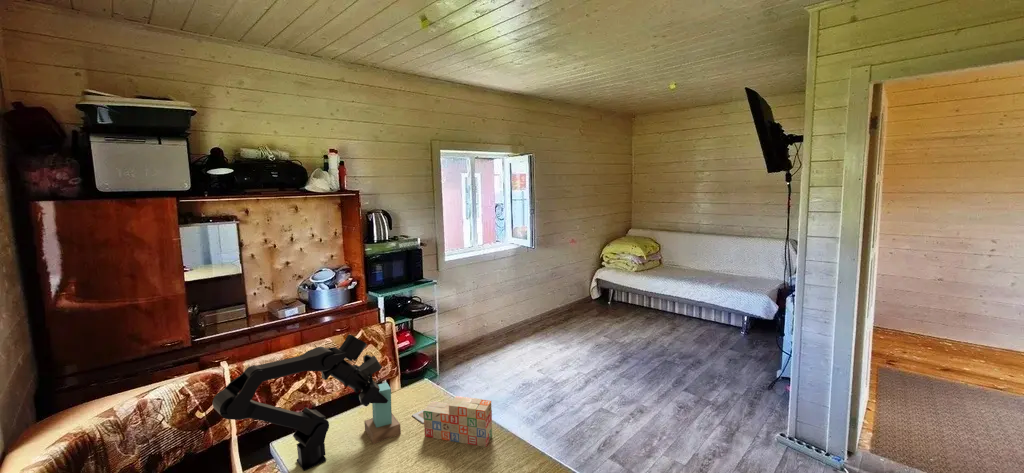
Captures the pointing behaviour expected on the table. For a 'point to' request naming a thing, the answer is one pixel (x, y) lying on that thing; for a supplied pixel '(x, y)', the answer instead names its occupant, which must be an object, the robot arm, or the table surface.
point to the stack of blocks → (459, 420)
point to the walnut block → (382, 430)
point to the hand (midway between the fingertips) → (384, 396)
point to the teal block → (383, 407)
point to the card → (419, 416)
